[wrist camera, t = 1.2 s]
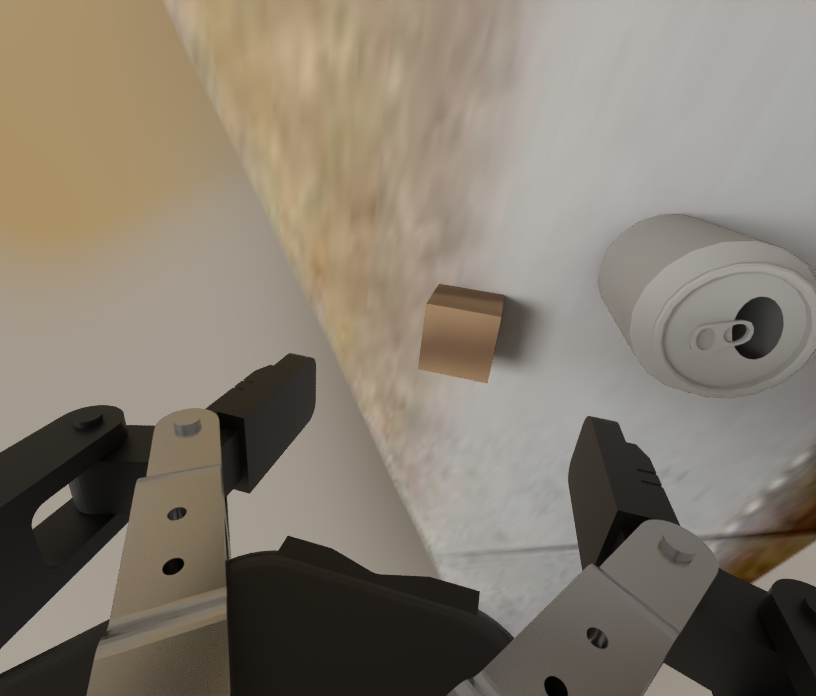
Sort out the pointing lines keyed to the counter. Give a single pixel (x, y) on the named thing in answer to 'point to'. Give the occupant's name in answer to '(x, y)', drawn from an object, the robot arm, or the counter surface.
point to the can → (709, 305)
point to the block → (460, 332)
